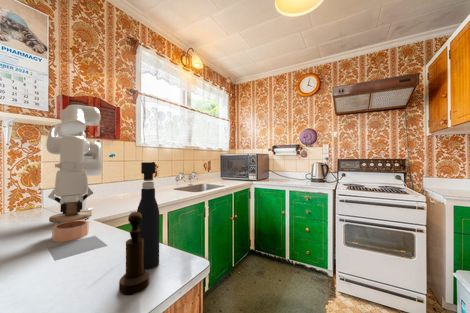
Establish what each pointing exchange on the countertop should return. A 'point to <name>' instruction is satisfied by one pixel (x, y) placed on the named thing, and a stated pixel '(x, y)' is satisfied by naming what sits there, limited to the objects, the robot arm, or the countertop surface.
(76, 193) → the robot arm
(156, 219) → the wine bottle
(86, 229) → the bowl
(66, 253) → the mat
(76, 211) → the lid
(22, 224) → the countertop surface
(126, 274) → the dark brown knobbed cylinder
